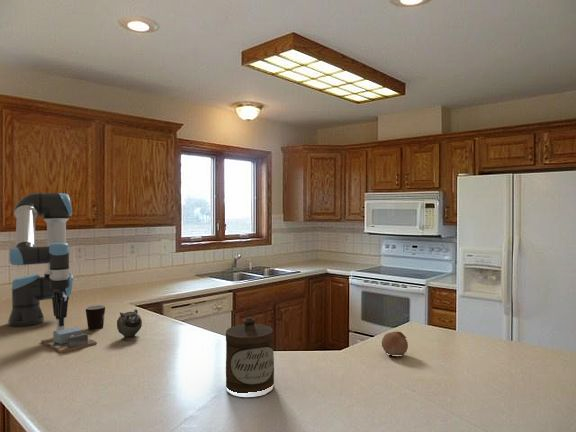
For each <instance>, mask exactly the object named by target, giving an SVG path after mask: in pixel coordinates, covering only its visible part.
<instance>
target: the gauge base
mask: <svg viewBox="0 0 576 432" xmlns="http://www.w3.org/2000/svg"><path fill="white" fill-rule="evenodd" d="M40 343H41V344H43V345H45V346H47V347H49V348H51V349H52V350H54V351H56V352H58V353H59V354H63V353H68V352H71V351H74V350H79V349H83V348H88V347H92V346H96V345H97V344H98V343H97V341H96V340H93V339H91V338H89V334H88V333H86V332H85V333H84V332H83V334H80V335H75V336H71V337H68V343H64V344H55V345H54V343H56V342H54V341H53V336H52V337H49V338H43V339H41V340H40Z"/></svg>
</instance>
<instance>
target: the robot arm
mask: <svg viewBox="0 0 576 432" xmlns="http://www.w3.org/2000/svg"><path fill="white" fill-rule="evenodd" d="M70 198H71V197H70V195H69V194H68V193H61V192H52V193H51V192H40V193H39V192H33V193H29V194H26V195H25V196H23V197H22V198H21V199H19V200H18V202H17V203H16V205H15V207H14V212H13V213H14V217H15V218H16V221H15V222H16V227H15V228H16V229H15V247H11V248H10V249H9V253H8V254H9V264H10V265H12V266H26V265H28V266H29V265H38V264H39V265H40V264H41V265H42V264H47V270H46V271H45V272H44V273H43V274H44V276H40V274H38V273H37V274H28V275H23V276H19V277H17V278H16V277H15V278H14V279H13V280H12V283H11V294H12V295H11V298H12V299H11V300H12V302H11V312H10V314H9V317H8V321H7V325H8V327H13V328H14V327H15V328H16V327H19V328H20V327H28V326H33V325H34V326H35V325H38V324H41V323H44V322H45V316H44V313H43V311H42V307H41V304H40V303H41V301H45V300H46V301H47V300H51V302H52V311H53V316H54V317H55V324H56V325H55V327H56V329H55V331H58V330H63V329H65V318H67V316H68V306H69V305H68V304H69V300H70V297H71V294H72V291H73V284H74V275H73V274H72V273H71V271H70V247H69V246H70V245H69V243H67V222H68V221H69V220H70V217H71V216H72V215H73V209H72V203H71V199H70ZM37 217H43V220H44V222H45V223H46V246H36V218H37Z"/></svg>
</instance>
